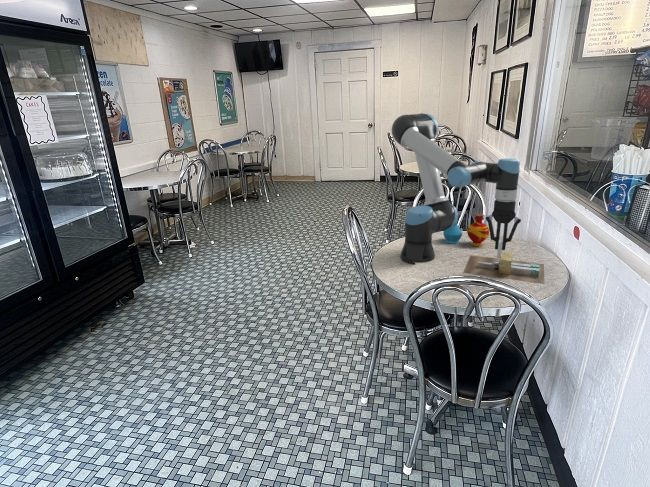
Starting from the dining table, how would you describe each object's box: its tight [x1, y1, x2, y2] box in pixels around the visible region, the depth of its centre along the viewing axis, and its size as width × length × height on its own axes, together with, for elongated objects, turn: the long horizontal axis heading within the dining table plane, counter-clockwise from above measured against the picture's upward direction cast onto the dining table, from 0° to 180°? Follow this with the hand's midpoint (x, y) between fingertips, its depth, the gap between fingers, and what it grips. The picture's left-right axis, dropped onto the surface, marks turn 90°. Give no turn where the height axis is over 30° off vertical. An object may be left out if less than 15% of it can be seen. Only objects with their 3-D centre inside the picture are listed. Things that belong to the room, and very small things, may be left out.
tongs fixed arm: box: [477, 261, 539, 277], centre depth 158 cm, size 23×4×3 cm, turn 63°
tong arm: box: [492, 260, 539, 269], centre depth 158 cm, size 17×4×3 cm, turn 67°
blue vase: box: [442, 212, 463, 244], centre depth 196 cm, size 9×9×15 cm
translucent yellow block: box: [499, 251, 514, 275], centre depth 158 cm, size 4×9×6 cm, turn 153°
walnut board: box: [463, 255, 546, 285], centre depth 161 cm, size 29×21×1 cm
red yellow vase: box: [466, 213, 490, 247], centre depth 190 cm, size 10×10×15 cm
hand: (499, 257), depth 159 cm, fingers closed
